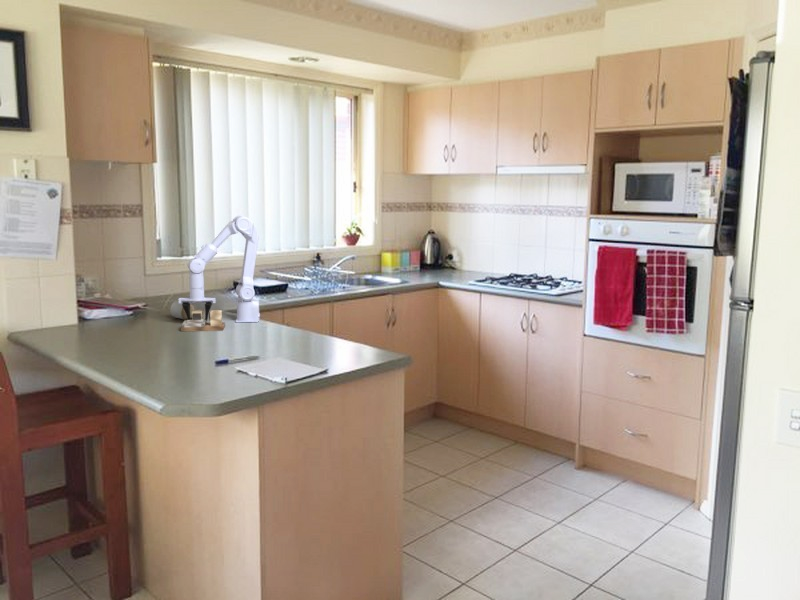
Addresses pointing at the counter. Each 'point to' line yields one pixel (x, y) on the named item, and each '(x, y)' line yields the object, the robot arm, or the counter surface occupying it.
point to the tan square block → (197, 315)
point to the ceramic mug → (180, 310)
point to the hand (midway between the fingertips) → (197, 320)
